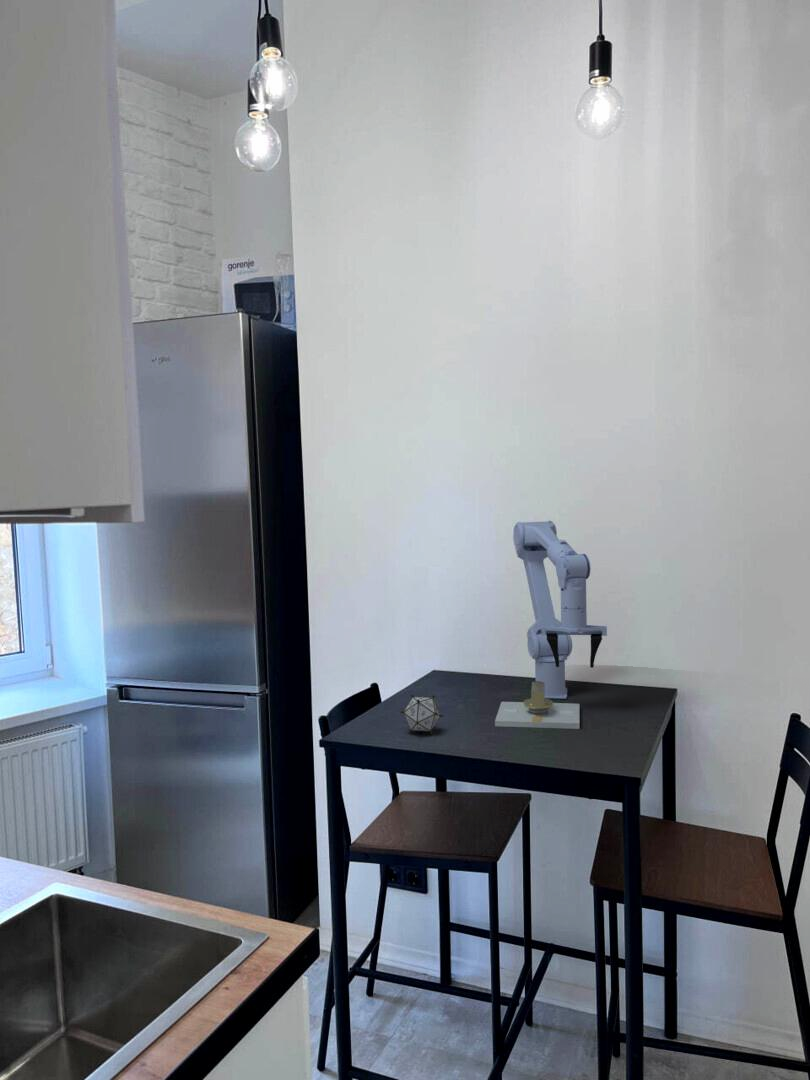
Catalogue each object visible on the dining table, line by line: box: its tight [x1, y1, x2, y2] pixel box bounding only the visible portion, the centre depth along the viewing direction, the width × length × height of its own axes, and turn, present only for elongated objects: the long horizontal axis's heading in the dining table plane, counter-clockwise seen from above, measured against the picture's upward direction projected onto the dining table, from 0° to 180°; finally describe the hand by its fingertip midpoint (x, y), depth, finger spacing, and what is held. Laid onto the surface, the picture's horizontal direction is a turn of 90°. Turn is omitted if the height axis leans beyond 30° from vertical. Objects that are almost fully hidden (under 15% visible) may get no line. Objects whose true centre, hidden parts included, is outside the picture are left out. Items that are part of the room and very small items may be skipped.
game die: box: [399, 693, 444, 736], centre depth 180 cm, size 9×8×10 cm
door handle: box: [523, 680, 554, 709], centre depth 189 cm, size 6×9×4 cm
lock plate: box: [494, 701, 581, 730], centre depth 189 cm, size 16×18×2 cm
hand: (574, 666), depth 193 cm, fingers open, 7 cm apart
